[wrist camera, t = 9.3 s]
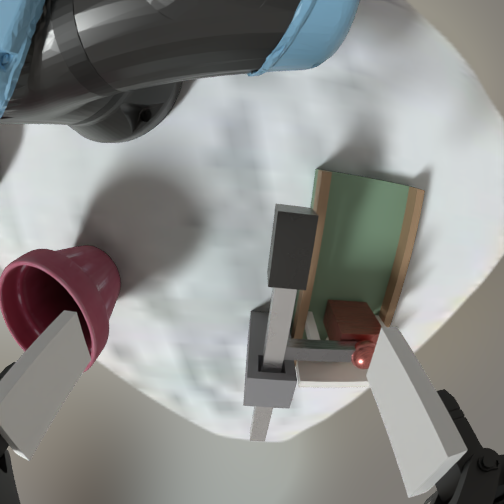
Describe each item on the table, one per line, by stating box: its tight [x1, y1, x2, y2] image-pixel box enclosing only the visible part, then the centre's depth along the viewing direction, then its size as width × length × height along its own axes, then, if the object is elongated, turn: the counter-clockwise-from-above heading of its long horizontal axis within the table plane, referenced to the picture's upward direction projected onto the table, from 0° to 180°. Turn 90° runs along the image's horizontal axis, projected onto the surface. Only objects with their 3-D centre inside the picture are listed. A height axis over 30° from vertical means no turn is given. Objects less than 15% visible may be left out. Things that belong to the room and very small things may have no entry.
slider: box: [250, 204, 382, 441], centre depth 30 cm, size 28×13×10 cm, turn 174°
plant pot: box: [0, 245, 121, 372], centre depth 30 cm, size 14×14×13 cm
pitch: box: [243, 169, 425, 408], centre depth 29 cm, size 24×17×12 cm
